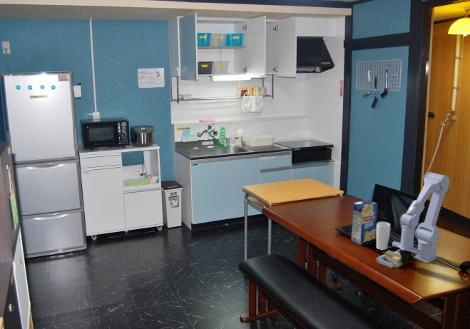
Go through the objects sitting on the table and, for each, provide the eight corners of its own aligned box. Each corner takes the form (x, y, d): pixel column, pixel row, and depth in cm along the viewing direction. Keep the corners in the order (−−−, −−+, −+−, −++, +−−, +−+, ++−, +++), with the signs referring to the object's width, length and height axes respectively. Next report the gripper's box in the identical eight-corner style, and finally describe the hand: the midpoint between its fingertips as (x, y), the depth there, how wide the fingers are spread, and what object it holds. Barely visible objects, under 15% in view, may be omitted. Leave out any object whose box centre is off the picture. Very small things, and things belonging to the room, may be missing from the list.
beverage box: (351, 240, 248) (353, 203, 243) (365, 236, 254) (368, 199, 248) (360, 245, 243) (362, 206, 237) (374, 240, 248) (377, 203, 243)
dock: (392, 253, 232) (392, 250, 231) (408, 260, 225) (408, 256, 224) (375, 261, 223) (375, 258, 223) (391, 268, 216) (392, 264, 216)
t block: (392, 255, 230) (392, 248, 229) (407, 261, 223) (408, 254, 222) (380, 261, 224) (380, 253, 223) (396, 267, 217) (396, 260, 216)
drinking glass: (385, 247, 239) (387, 221, 235) (390, 253, 232) (392, 226, 229) (373, 248, 239) (374, 221, 235) (377, 253, 232) (379, 226, 229)
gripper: (389, 235, 218) (387, 260, 222) (416, 245, 207) (414, 271, 210) (397, 232, 222) (395, 257, 226) (425, 241, 211) (422, 267, 214)
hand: (405, 263), depth 218 cm, fingers closed
